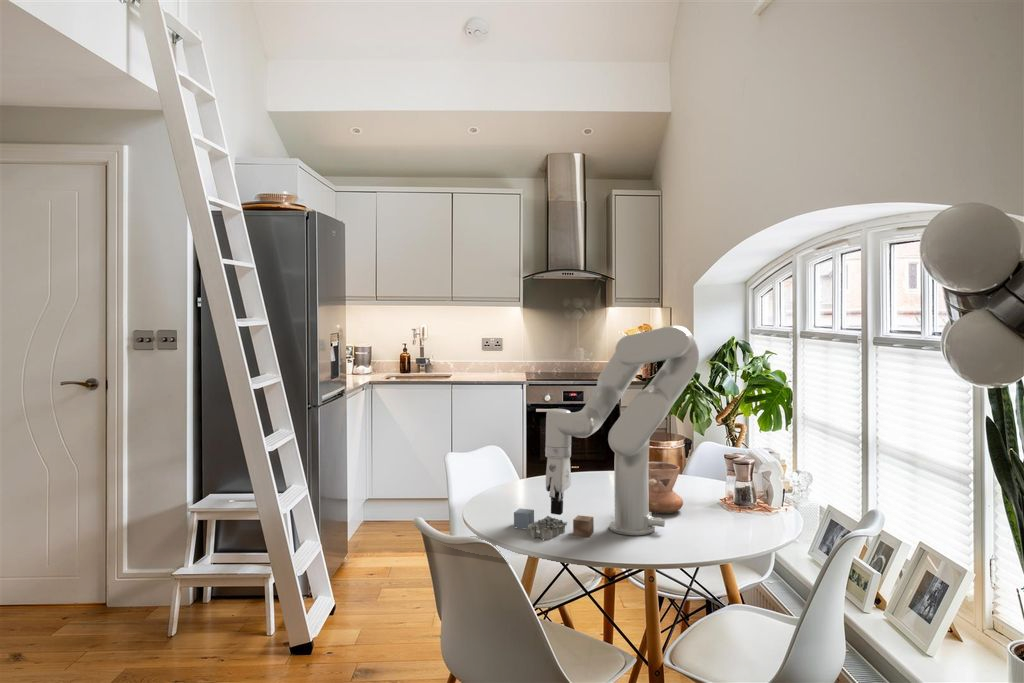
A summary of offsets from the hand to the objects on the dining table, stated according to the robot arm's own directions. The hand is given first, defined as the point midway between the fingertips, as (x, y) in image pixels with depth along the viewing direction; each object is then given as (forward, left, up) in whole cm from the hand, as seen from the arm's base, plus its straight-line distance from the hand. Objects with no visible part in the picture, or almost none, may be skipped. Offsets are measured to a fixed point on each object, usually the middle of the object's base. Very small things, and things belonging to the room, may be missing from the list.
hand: (556, 513), depth 188 cm
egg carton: (-1, +11, -3) cm, 11 cm away
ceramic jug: (-26, -23, -3) cm, 35 cm away
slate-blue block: (+8, +7, -3) cm, 11 cm away
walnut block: (-10, +8, -3) cm, 13 cm away
